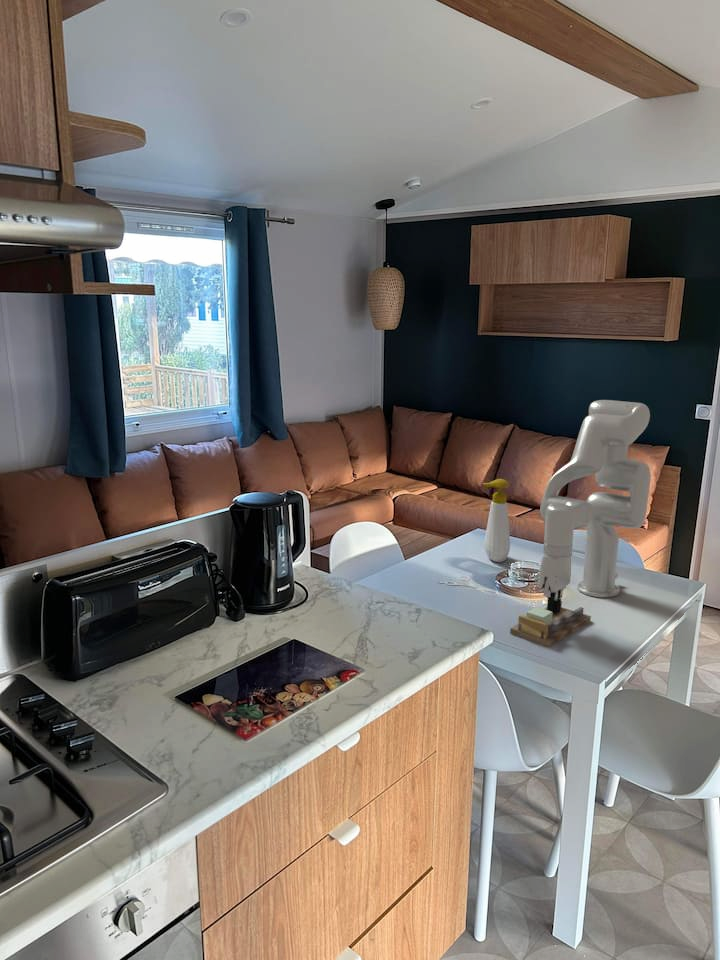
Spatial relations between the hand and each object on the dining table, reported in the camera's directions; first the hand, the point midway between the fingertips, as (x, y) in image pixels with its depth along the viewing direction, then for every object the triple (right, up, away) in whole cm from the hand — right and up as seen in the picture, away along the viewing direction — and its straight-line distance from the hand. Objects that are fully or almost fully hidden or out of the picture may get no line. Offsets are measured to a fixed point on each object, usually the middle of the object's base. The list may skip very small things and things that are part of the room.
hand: (553, 611), depth 205 cm
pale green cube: (-5, -4, -5) cm, 8 cm away
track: (-1, -4, 0) cm, 4 cm away
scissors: (-18, +2, +30) cm, 35 cm away
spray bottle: (-7, +8, +55) cm, 56 cm away
